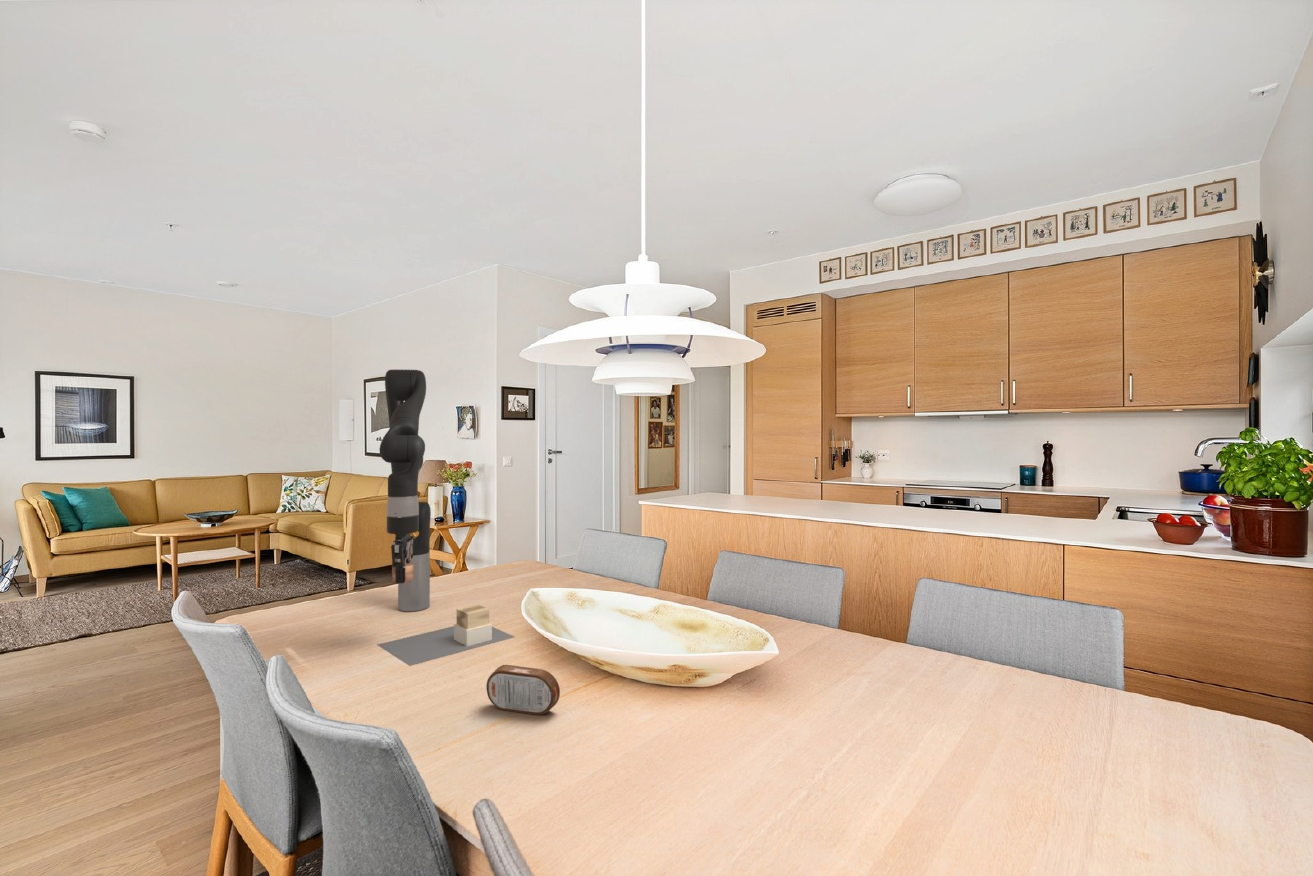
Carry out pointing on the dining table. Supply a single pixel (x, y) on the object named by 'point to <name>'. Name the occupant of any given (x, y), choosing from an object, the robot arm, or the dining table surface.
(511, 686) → the tin
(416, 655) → the mat
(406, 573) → the terracotta cylinder
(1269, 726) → the dining table surface
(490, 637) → the tower base block
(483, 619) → the tower top block
